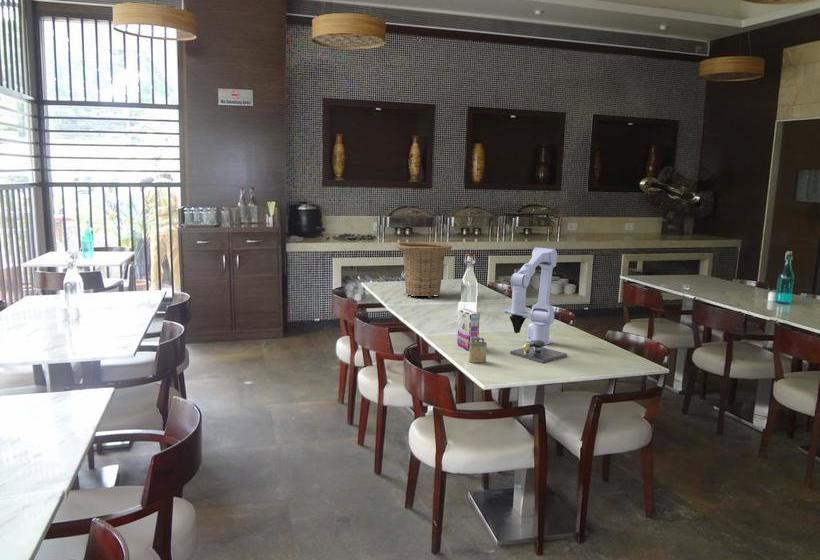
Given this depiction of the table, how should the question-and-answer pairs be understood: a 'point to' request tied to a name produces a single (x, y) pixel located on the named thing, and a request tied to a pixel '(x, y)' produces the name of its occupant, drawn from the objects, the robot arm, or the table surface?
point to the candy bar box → (467, 327)
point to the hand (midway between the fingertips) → (517, 332)
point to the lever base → (539, 354)
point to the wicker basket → (423, 266)
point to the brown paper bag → (477, 351)
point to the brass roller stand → (533, 343)
